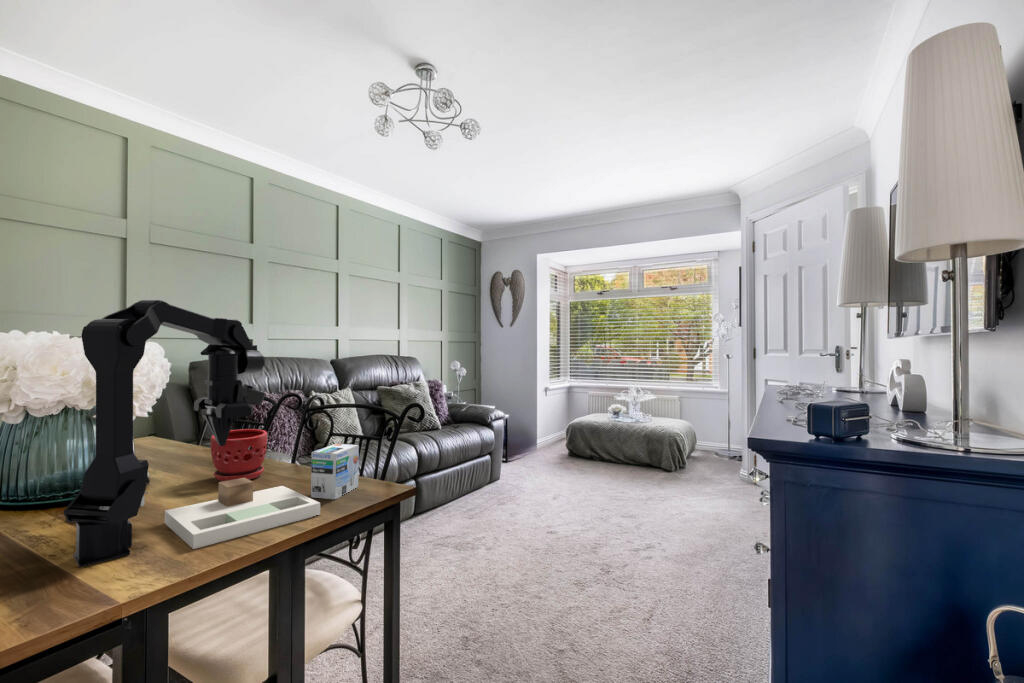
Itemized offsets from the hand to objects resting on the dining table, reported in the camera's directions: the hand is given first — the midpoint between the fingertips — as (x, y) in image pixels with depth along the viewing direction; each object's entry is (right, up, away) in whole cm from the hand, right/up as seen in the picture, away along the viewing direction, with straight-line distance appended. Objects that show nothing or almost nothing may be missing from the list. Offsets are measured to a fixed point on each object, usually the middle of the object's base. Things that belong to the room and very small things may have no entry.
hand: (221, 445), depth 107 cm
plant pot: (-8, -13, +21) cm, 26 cm away
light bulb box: (+22, -14, +9) cm, 27 cm away
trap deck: (+10, -13, -9) cm, 19 cm away
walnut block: (+6, -11, -6) cm, 14 cm away
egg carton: (-20, -13, -5) cm, 24 cm away
